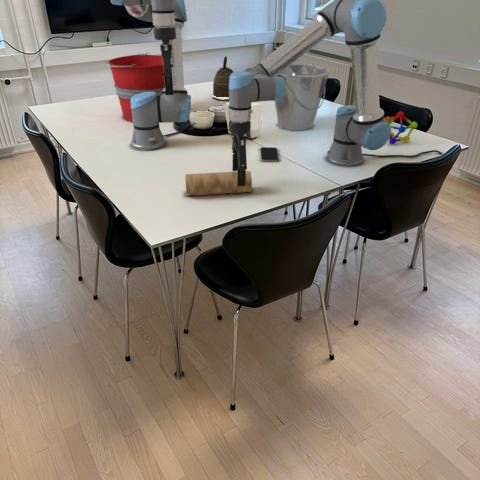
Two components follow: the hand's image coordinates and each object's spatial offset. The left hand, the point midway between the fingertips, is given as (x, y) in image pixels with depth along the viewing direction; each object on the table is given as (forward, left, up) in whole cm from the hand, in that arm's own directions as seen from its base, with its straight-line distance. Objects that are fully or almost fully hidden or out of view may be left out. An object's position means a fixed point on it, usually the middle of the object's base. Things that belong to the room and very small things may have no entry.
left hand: (169, 90), depth 163 cm
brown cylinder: (+17, +20, -32) cm, 42 cm away
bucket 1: (-75, -35, -32) cm, 89 cm away
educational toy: (-48, +95, -32) cm, 111 cm away
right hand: (+15, +28, -27) cm, 41 cm away
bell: (-121, +3, -32) cm, 125 cm away
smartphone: (-24, +37, -32) cm, 54 cm away
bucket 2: (-69, +48, -32) cm, 90 cm away
